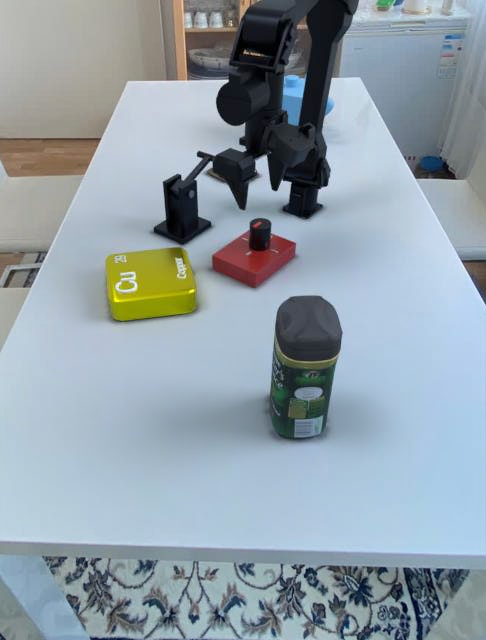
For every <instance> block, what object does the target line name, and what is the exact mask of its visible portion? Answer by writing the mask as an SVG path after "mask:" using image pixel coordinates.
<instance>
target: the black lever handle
mask: <svg viewBox="0 0 486 640" xmlns="http://www.w3.org/2000/svg"><path fill="white" fill-rule="evenodd" d="M215 156H216V155H213V154H211V153H208V152H204V151H201V150H198V151H197V152H196V157H197V158H200V159H201V160H200V161H199V163H197V165H196V166H195V167H194V168H193V169H192V171H191V172H189V173H188V175H187V176H186V177H185V178H184V179H182V180H181V179H178V180H177V181H176V183H175V184H174V185H173V186H172V187H171V188H170V189H171V192H172V195H173V197H174V198H175V199H178V200H179V192H178V187H180V186H182V185H184V184H185V183H187V182H189V181H191V180H192V179H194V180H196V178H198V177H199V175H200V174H201V173H202V172H203V171H204V169H205V168H206V167H207V166H208V165H209V164H210V162H211V163H212V159H213V158H214V157H215Z"/></svg>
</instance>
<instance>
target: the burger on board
mask: <svg viewBox="0 0 486 640" xmlns="http://www.w3.org/2000/svg"><path fill="white" fill-rule="evenodd" d="M206 173H207V174H208V175H210V176H212V177H215V178H216V179H219V180H220V181H223V182H226V181H225V179H224V177H222V176H220V175H218V174H216V173H213V168H212V167H210V168H209V169H207V170H206ZM253 175H255V178H253V179H252V180H251V181H253V180H255V179H257V178H259V177H260V173H259V172H258V170H257V169H256V168H255V171H254V173H253Z"/></svg>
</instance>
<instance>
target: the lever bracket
mask: <svg viewBox="0 0 486 640" xmlns="http://www.w3.org/2000/svg"><path fill="white" fill-rule="evenodd" d="M182 178H183V177H182V174H180V173H176V174H174V175H173V176H170V177H169V178H166V179H165V180H163V181H162V189H163V190H162V191H163V201H164V213H165V220H163V221H162V222H159V223H157V225H155V226H153V228H152V229H153V233H154V234H156V235H159V236H161V237H163V238H166V239H168V240H170V241H173V242H175V243H177V244H180V245H181V246H184V245H185V244H188V242H190V241H191V240H193V239H195V238H196V237H198V236H199V235H201V234H203V233H204V232H206V231H207V230H209V229H210V228H212V221H211V220H208V219H206V218H203V217H201V216H199V201H198V200H199V199H198V198H199V197H198V180H197V179H192V180H191V181H189V182H187V183H185V184H184V185H182V186H180V187H178V192H179V200H178V199H175V198H174V197H173V195H172V192H171V189H170V188H171V187H172V186H173V185H174V184H175V183H176V181H177V180H178V179H181V180H183V179H182Z"/></svg>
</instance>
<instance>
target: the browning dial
mask: <svg viewBox="0 0 486 640" xmlns="http://www.w3.org/2000/svg"><path fill="white" fill-rule="evenodd" d="M272 225H273V224H272V221H271V220H270V219H268V218H264V217H256V218H253V219H251V220H250V221H249V229H248V230H249V247H250V248H251V249H253V250H255V251H264V250H267V249H268V248H269V247H270V240H271V233H272Z"/></svg>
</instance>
